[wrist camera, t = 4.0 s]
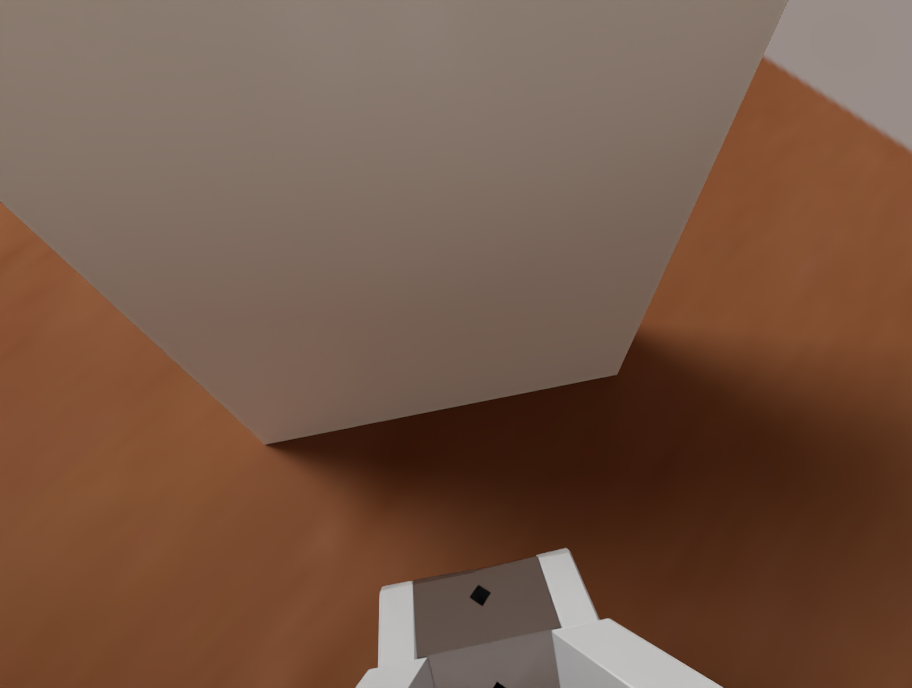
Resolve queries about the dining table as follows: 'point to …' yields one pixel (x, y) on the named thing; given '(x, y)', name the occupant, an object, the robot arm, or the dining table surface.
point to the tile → (371, 183)
